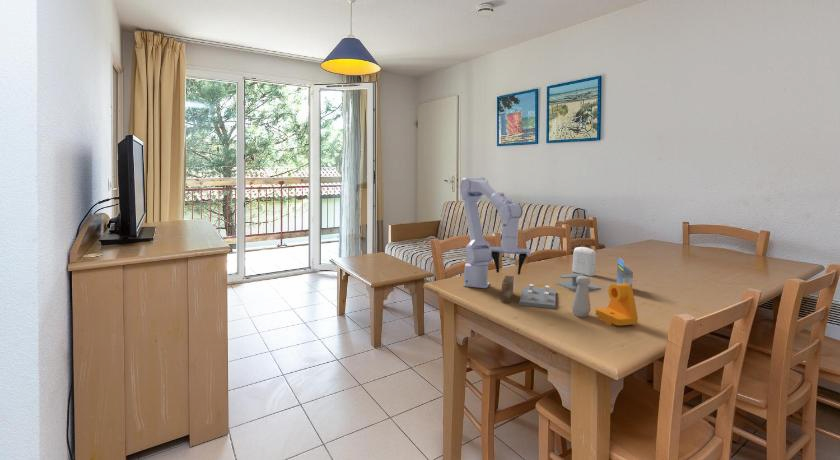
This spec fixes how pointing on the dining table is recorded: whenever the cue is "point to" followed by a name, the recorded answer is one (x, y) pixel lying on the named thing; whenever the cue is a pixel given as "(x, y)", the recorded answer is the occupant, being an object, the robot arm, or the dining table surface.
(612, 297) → the bracket
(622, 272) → the label tape box
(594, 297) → the dining table surface
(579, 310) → the salt shaker
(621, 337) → the dining table surface
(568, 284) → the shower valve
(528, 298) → the hinge board
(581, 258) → the photo printer
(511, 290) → the cabinet door
